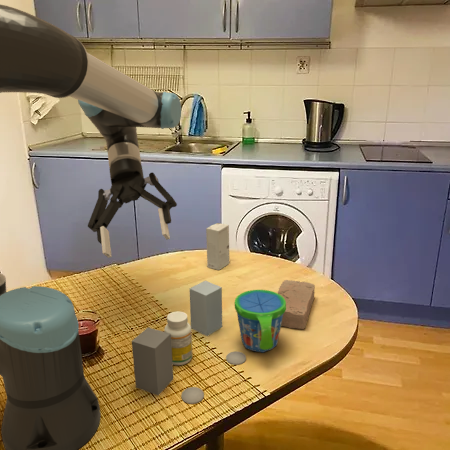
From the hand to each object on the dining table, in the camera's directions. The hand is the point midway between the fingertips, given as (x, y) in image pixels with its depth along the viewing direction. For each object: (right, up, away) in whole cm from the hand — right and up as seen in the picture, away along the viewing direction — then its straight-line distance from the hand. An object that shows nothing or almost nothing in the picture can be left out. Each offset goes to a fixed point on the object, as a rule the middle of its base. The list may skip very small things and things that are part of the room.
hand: (136, 246), depth 98 cm
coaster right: (+21, -22, -5) cm, 31 cm away
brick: (+35, -16, +12) cm, 41 cm away
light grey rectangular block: (+15, -19, +5) cm, 24 cm away
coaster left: (+13, -26, -16) cm, 33 cm away
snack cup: (+26, -21, 0) cm, 33 cm away
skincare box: (+17, -7, +37) cm, 41 cm away
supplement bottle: (+10, -23, -5) cm, 25 cm away
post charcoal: (+6, -25, -12) cm, 29 cm away
